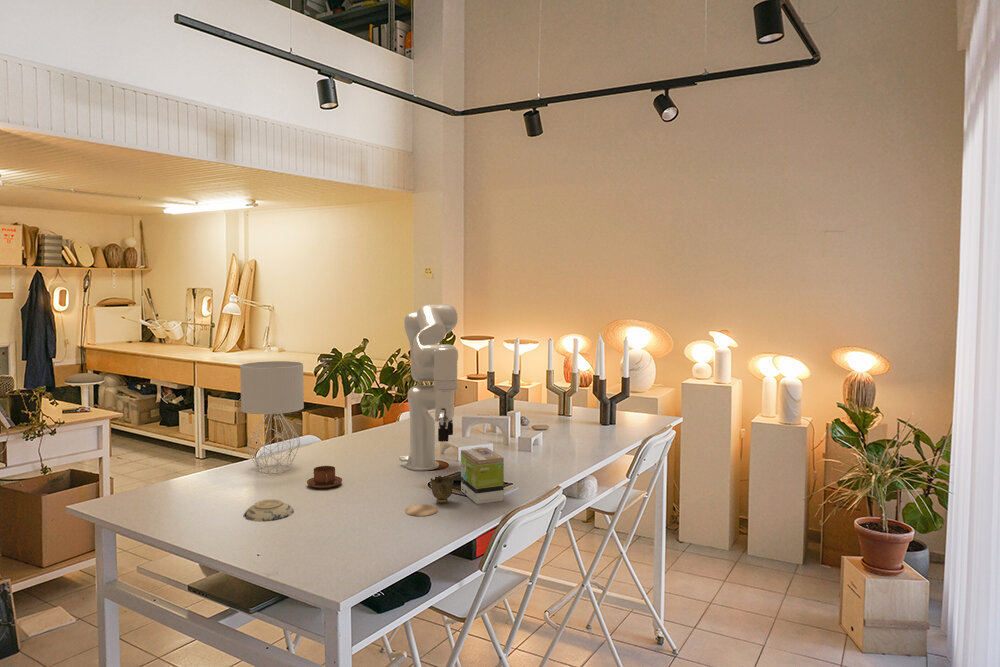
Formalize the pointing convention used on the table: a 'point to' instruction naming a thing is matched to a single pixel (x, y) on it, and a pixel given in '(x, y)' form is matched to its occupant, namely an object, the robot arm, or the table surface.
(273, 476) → the table surface
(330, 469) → the cup and saucer
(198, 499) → the table surface
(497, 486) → the tea box
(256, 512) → the decorative bowl
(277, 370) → the table lamp
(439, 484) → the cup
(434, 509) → the cork coaster
